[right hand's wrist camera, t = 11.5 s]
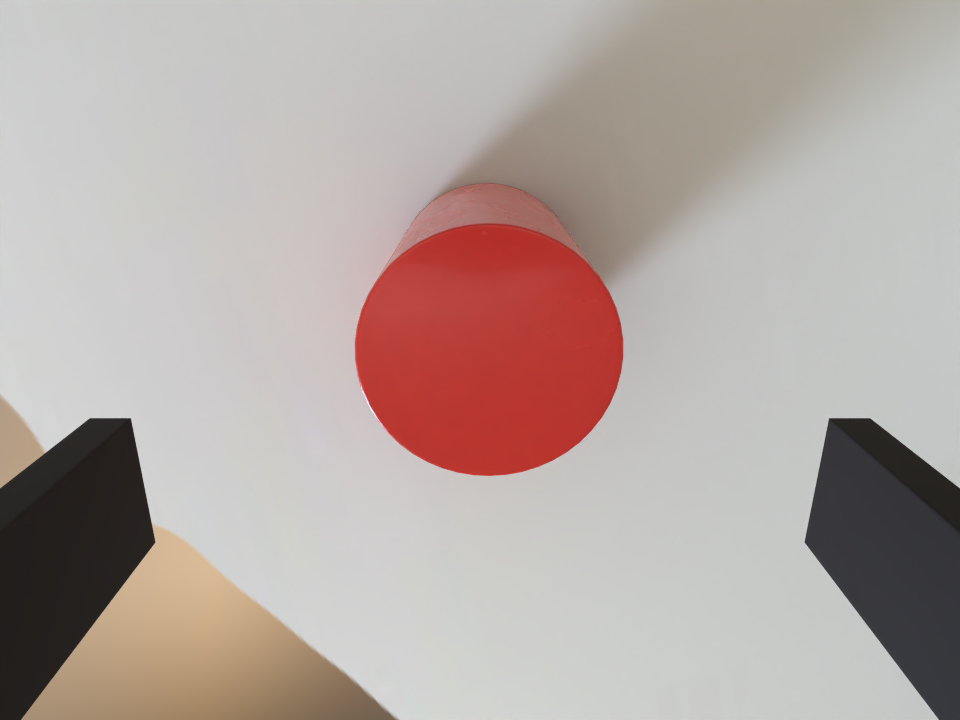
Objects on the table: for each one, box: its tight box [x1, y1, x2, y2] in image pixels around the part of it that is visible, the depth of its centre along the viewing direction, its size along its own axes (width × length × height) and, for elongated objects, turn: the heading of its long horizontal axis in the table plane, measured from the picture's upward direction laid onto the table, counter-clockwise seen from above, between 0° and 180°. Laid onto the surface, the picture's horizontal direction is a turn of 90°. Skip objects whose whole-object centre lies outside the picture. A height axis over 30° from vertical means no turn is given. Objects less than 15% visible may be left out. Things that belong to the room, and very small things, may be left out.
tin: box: [355, 183, 623, 476], centre depth 25 cm, size 8×8×11 cm
